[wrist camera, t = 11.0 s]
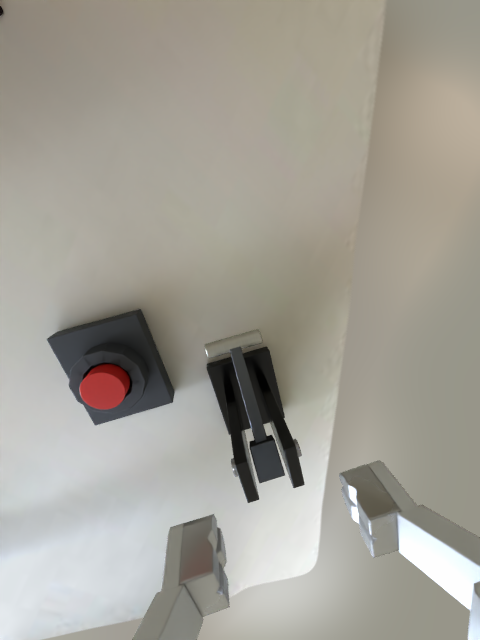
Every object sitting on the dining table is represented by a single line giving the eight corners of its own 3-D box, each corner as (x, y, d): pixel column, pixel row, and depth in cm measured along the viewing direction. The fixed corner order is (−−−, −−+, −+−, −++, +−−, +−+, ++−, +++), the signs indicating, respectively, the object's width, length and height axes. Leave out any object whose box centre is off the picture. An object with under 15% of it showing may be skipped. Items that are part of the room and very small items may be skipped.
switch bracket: (206, 363, 30) (208, 443, 19) (266, 346, 31) (305, 413, 19) (228, 428, 34) (241, 529, 22) (282, 411, 34) (323, 502, 22)
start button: (80, 370, 25) (71, 379, 23) (120, 358, 25) (114, 367, 23) (97, 403, 26) (90, 414, 24) (136, 392, 26) (131, 402, 24)
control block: (57, 331, 27) (33, 347, 23) (141, 308, 27) (130, 320, 23) (101, 414, 30) (87, 439, 27) (174, 392, 31) (170, 414, 27)
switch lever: (206, 346, 26) (202, 342, 24) (257, 331, 26) (258, 326, 24) (240, 479, 23) (240, 489, 21) (298, 461, 23) (304, 469, 21)
